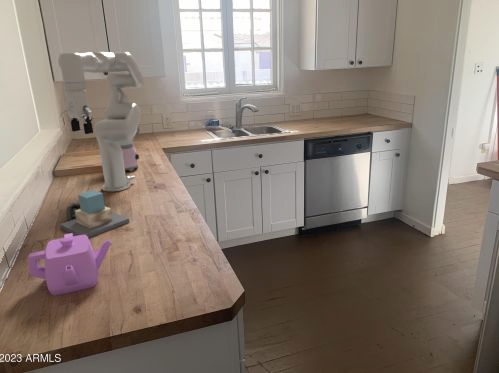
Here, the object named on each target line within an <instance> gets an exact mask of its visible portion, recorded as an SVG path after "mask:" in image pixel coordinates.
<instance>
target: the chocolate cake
mask: <svg viewBox="0 0 499 373" xmlns="http://www.w3.org/2000/svg"><path fill="white" fill-rule="evenodd" d="M79 209H81V208H80V203H73V202H71V203H70V202H69V205H68V206H67V208H66V217H65V218H66V220H67V221H71V220H74V219H76V215H75V211H76V210H79Z"/></svg>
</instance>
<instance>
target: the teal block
mask: <svg viewBox="0 0 499 373" xmlns="http://www.w3.org/2000/svg"><path fill="white" fill-rule="evenodd" d="M77 198H78V201H79V203H78V204H80V208H81V211H84V212H86V213H88V214H91V213H94V212H97V211H100V210H103V209H105V206H106V205H105V201H104V199H105V198H104V193H103V192H100V191H98V190H94V189H92V190H90V191H86V192H83V193H78V194H77Z"/></svg>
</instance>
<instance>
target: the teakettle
mask: <svg viewBox="0 0 499 373" xmlns="http://www.w3.org/2000/svg"><path fill="white" fill-rule="evenodd" d="M63 235H64V236H63V237H61V238H56V239H53V240H49V241H48V243H47V244H46V247H45V250H41V251H37V252H32V253H29V254H28V256H27V258H28V267H29V276H30V277H35V278H39V279H43V280H45V282H46V286H47V289H48V292H49V293H50V295H52V296H54V297H56V296H61V295H66V294H70V293H71V294H72V293H75V292H80V291H82V290H86V289H91V288H93V287H96V285H97V282H98V276H99V269H100V268H101V266H102V264H103V262H104V260H105V257H106V255H107V253H108V251H109V250H110V247H111V245H112V241H111V240H103V243H102V244H101V245H100V247H99V248H98V249H97V250H96V252H95V251H94V248H93V246H92V244H91V241H90V238H88V237H87V235H78V236H75V235H73V233H70V232H69V233H65V234H63ZM38 260H44V267H43V266H39V263H38Z"/></svg>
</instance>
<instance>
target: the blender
mask: <svg viewBox="0 0 499 373" xmlns="http://www.w3.org/2000/svg"><path fill="white" fill-rule="evenodd" d="M139 133H140V124H139V125H138V128H137V131H136V134H135V136H137V135H140V134H139ZM133 139H134V138H133ZM133 139H132V140H131V141H117V142H118V144H119V145H120V146H121V148H122V152H123V160H124V167H125V171H129V173H130V172H135V170H134V169H138V168H139V164H138V160H139V159H140V156H139V154H137V149H136V148H135V146H134V144H133Z"/></svg>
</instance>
